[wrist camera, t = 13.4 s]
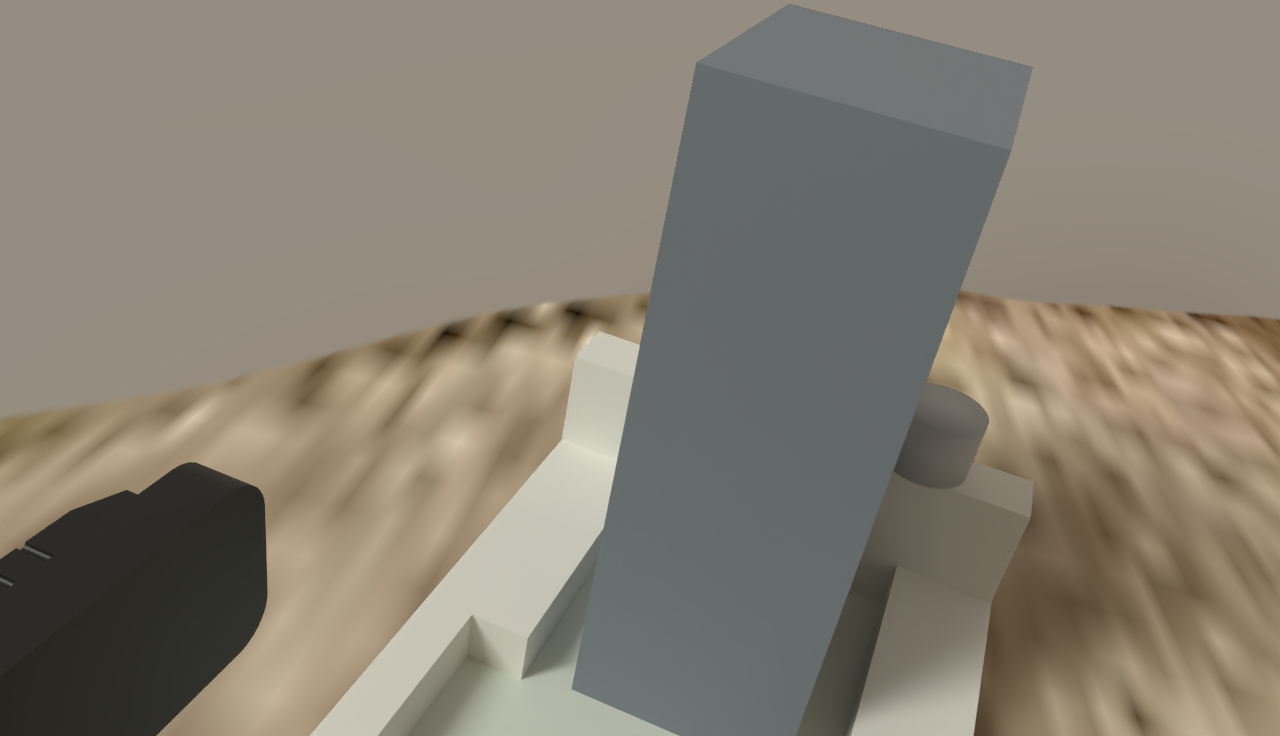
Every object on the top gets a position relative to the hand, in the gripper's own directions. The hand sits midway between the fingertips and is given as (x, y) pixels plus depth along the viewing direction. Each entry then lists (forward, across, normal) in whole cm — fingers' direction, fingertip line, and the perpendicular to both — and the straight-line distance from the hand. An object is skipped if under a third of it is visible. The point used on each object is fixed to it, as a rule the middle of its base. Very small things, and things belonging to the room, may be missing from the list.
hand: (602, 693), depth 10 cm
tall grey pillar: (+10, 0, +9) cm, 14 cm away
